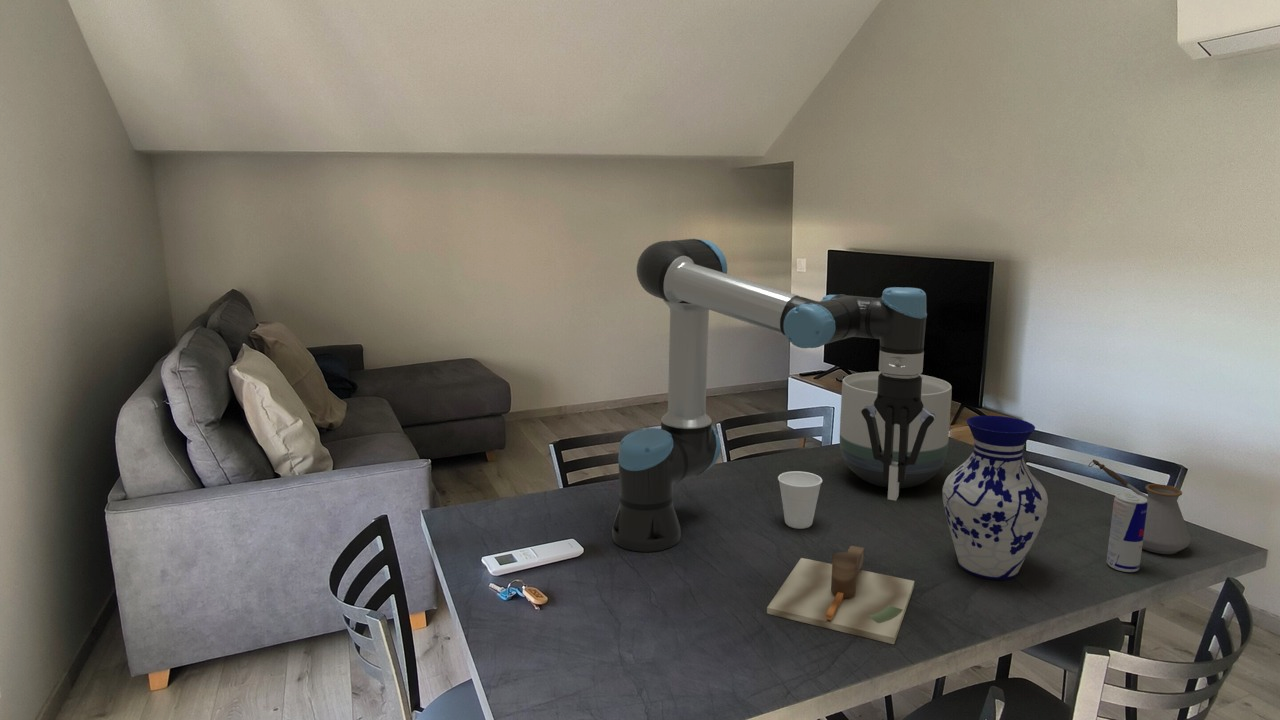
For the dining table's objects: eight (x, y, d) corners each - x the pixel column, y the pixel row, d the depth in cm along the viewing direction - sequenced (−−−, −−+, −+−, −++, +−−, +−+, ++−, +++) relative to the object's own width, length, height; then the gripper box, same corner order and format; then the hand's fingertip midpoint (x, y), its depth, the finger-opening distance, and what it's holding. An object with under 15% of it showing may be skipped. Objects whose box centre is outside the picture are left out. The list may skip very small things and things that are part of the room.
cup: (821, 534, 170) (823, 487, 167) (775, 531, 172) (777, 484, 169) (820, 517, 179) (821, 472, 177) (777, 514, 181) (778, 469, 179)
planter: (832, 463, 216) (836, 370, 211) (931, 467, 212) (938, 372, 207) (844, 499, 190) (849, 393, 185) (956, 503, 186) (965, 396, 181)
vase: (1035, 599, 141) (1051, 444, 135) (928, 574, 151) (938, 428, 145) (1044, 559, 157) (1059, 418, 151) (947, 539, 166) (957, 406, 161)
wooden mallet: (841, 623, 131) (843, 586, 129) (815, 617, 133) (817, 580, 131) (867, 568, 150) (869, 536, 149) (845, 563, 152) (846, 531, 151)
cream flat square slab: (766, 613, 137) (767, 607, 137) (801, 563, 156) (801, 557, 156) (894, 644, 127) (894, 637, 127) (914, 586, 146) (914, 580, 146)
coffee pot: (1200, 550, 160) (1210, 482, 157) (1170, 563, 155) (1180, 493, 152) (1098, 515, 178) (1105, 454, 175) (1068, 525, 173) (1075, 462, 170)
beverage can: (1128, 576, 149) (1137, 504, 146) (1100, 564, 154) (1108, 494, 151) (1145, 569, 152) (1154, 498, 149) (1116, 558, 157) (1125, 489, 154)
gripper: (859, 374, 137) (853, 498, 142) (936, 381, 131) (927, 510, 136) (867, 366, 144) (861, 485, 149) (941, 373, 138) (932, 496, 143)
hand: (893, 497), depth 142 cm, fingers closed
